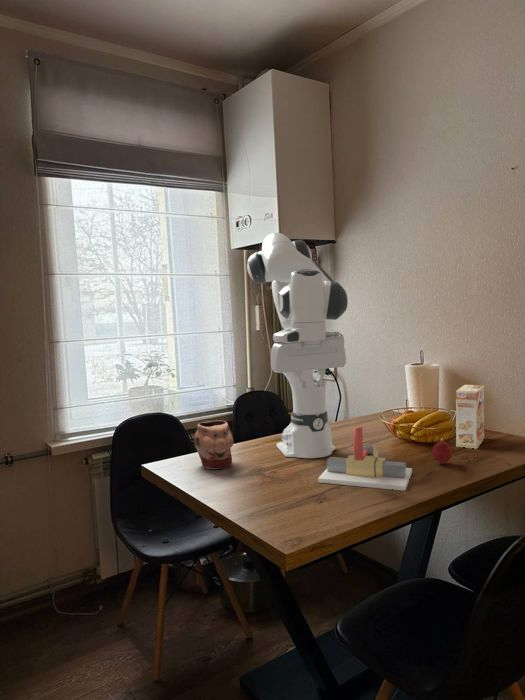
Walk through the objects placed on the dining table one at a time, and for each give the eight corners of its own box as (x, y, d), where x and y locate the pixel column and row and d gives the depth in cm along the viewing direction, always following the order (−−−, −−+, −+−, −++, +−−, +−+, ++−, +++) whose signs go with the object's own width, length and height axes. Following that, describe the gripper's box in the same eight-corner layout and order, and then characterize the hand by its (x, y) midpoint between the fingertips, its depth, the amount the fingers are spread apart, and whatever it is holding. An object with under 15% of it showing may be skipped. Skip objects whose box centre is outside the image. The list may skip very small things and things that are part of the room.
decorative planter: (186, 460, 174) (184, 419, 173) (219, 454, 180) (217, 414, 179) (208, 476, 157) (206, 430, 156) (245, 469, 162) (243, 425, 161)
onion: (453, 467, 156) (453, 441, 156) (433, 466, 158) (433, 440, 157) (450, 461, 162) (450, 436, 161) (431, 461, 163) (431, 436, 163)
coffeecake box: (477, 449, 174) (477, 391, 172) (455, 447, 178) (454, 390, 176) (485, 438, 187) (485, 385, 185) (464, 436, 190) (463, 384, 189)
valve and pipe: (326, 477, 152) (325, 452, 151) (331, 470, 157) (330, 447, 157) (403, 484, 143) (403, 458, 143) (406, 477, 149) (406, 452, 148)
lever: (359, 449, 153) (358, 418, 152) (374, 450, 151) (373, 418, 150) (349, 461, 141) (348, 428, 140) (365, 463, 139) (365, 429, 138)
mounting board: (318, 482, 148) (318, 478, 148) (332, 465, 162) (332, 461, 162) (405, 490, 138) (405, 486, 138) (412, 472, 153) (412, 468, 153)
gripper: (337, 330, 139) (338, 382, 140) (267, 335, 131) (269, 389, 133) (350, 331, 133) (351, 385, 135) (277, 336, 126) (279, 392, 127)
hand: (309, 387), depth 134 cm, fingers open, 3 cm apart
